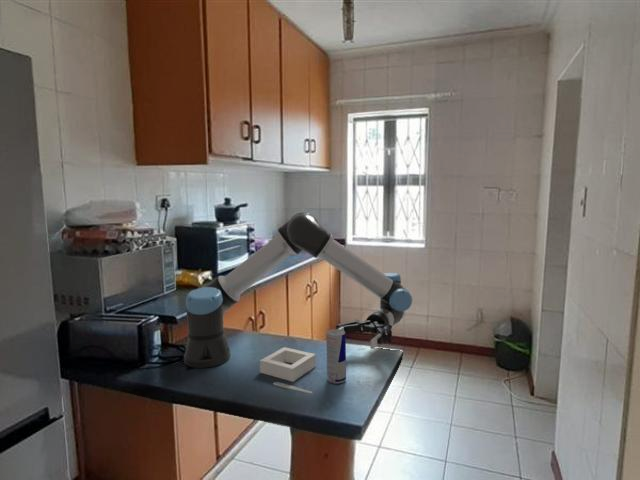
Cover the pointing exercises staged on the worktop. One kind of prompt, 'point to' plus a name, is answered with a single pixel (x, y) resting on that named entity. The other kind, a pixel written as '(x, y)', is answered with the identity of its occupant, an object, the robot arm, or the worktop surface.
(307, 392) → the butter knife
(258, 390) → the worktop surface
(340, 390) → the worktop surface
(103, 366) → the worktop surface
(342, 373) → the beverage can
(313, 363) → the socket block
